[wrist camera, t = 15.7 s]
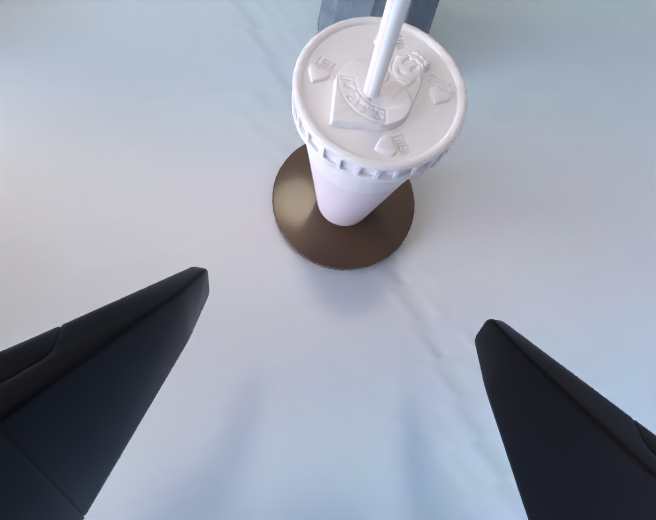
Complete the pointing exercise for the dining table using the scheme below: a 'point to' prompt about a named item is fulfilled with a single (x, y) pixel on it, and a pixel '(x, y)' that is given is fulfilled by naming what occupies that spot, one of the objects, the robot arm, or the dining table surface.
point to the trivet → (330, 239)
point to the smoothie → (374, 109)
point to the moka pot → (375, 12)
